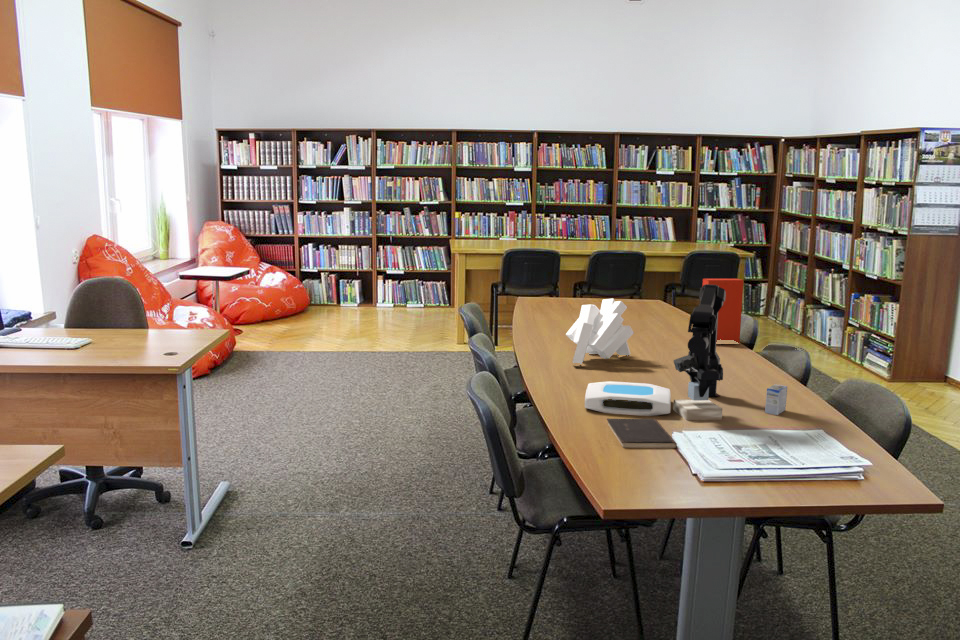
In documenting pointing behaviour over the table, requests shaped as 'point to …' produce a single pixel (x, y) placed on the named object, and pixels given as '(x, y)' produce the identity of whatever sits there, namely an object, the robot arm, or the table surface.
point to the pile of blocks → (600, 331)
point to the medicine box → (776, 399)
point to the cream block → (697, 409)
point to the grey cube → (696, 392)
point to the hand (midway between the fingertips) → (698, 394)
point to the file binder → (729, 308)
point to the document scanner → (628, 397)
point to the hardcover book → (641, 433)
